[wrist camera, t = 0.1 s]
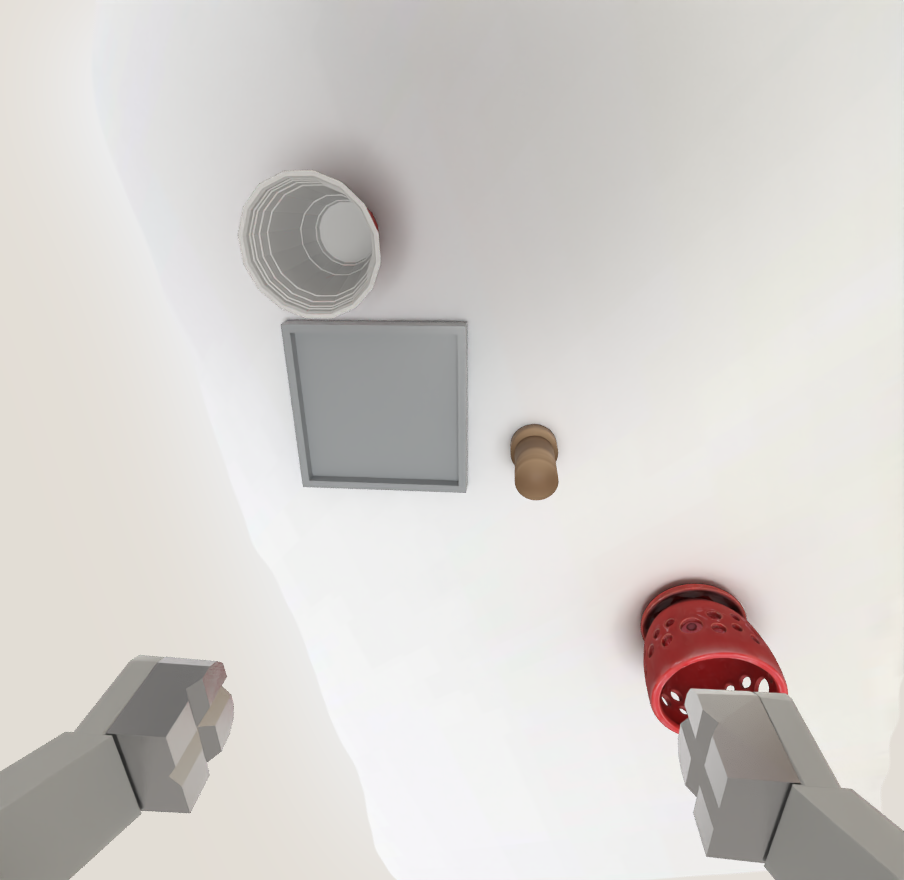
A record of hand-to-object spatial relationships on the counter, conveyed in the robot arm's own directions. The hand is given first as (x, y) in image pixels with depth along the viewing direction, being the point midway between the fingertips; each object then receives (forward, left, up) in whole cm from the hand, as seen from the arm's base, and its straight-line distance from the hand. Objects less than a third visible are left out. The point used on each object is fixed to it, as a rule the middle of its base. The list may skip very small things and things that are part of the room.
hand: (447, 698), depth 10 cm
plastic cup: (-4, -14, -48) cm, 50 cm away
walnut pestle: (+17, +4, -48) cm, 51 cm away
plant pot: (+39, +23, -48) cm, 66 cm away
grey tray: (+13, -12, -48) cm, 51 cm away
